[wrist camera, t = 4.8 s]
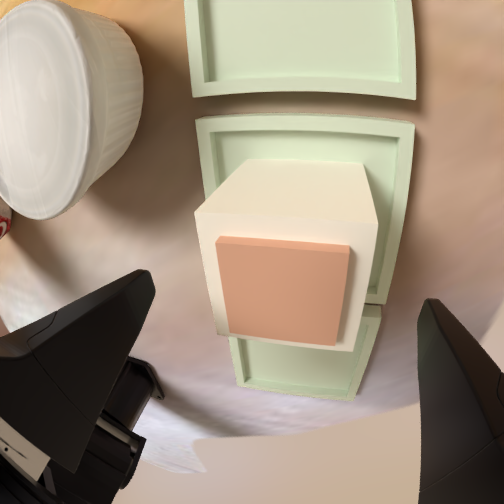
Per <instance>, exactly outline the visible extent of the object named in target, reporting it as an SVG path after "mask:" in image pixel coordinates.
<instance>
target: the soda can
mask: <svg viewBox="0 0 504 504" xmlns="http://www.w3.org/2000/svg"><path fill="white" fill-rule="evenodd" d="M11 216H12V208H11V207H10V206H9V205H8V204H7V203H6V202H5V201H4V200H3V199H2V197H1V196H0V239H1V238H2V237H3V236H4V235H5V234H6V233H7V232H8V231H9V230H10V227H11Z"/></svg>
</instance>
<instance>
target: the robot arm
mask: <svg viewBox="0 0 504 504" xmlns="http://www.w3.org/2000/svg"><path fill="white" fill-rule="evenodd" d="M155 292H156V291H155V286H154V283H153V280H152V276H151V273H150V272H149V271H148V270H142V269H138V270H136V271H133V272H131V273H129V274H127V275H125V276H123V277H121V278H119V279H117V280H115V281H113V282H111V283H109V284H107V285H105V286H103V287H101V288H99V289H97V290H95V291H94V292H92V293H90V294H88V295H86V296H84V297H82V298H80V299H78V300H76V301H74V302H72V303H70V304H68V305H66V306H64V307H63V308H61V309H59V310H58V311H55V312H53V313H51V314H49V315H47V316H45V317H43V318H41V319H39V320H37V321H35V322H33V323H31V324H29V325H27V326H25V327H22V328H20V329H18V330H16V331H14V332H11V333H9V334H7V335H5V336H2V337H0V504H111V503H112V501H113V499H114V497H115V495H116V493H117V492H118V490H119V489H124V488H125V487H126V486H127V485H128V483H129V482H130V480H131V479H132V476H133V475H134V472H135V470H136V467H137V464H138V461H139V459H140V456H141V453H142V450H143V448H144V445H145V442H146V438H144V437H142V436H139V435H137V434H136V433H134V432H132V430H133V428H134V426H135V424H136V423H137V421H138V419H139V417H140V415H141V413H142V412H143V410H144V408H145V406H146V404H147V402H148V400H149V399H150V397H154V398H157V399H160V400H163V399H164V397H165V396H164V394H163V392H162V390H161V389H160V387H159V385H158V383H157V381H156V379H155V377H154V376H153V374H152V372H151V370H150V368H149V366H148V365H147V364H146V363H145V362H142V361H139V360H136V359H133V358H130V357H128V355H129V353H130V351H131V349H132V347H133V345H134V343H135V341H136V339H137V337H138V335H139V333H140V331H141V329H142V326H143V324H144V321H145V319H146V316H147V314H148V311H149V309H150V306H151V304H152V302H153V299H154V297H155ZM417 336H418V380H419V393H420V409H421V473H420V489H419V491H420V492H419V500H418V504H504V373H503V372H501V370H500V368H499V367H498V366H497V365H496V363H495V362H494V361H493V360H492V359H491V358H490V356H489V355H488V354H487V353H486V351H485V350H484V349H483V348H482V347H481V345H480V344H479V343H478V342H477V341H476V340H475V338H474V337H473V336H472V335H471V334H470V333H469V332H468V331H467V329H466V328H465V327H464V326H463V325H462V324H461V323H460V322H459V321H458V319H457V318H456V317H455V316H454V315H453V314H452V313H451V312H450V311H449V310H448V309H447V308H446V307H445V305H444V304H443V303H442V302H441V301H440V300H439V299H432V298H427V299H426V300H425V301H424V304H423V307H422V309H421V312H420V315H419V318H418V322H417Z"/></svg>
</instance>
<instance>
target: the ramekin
mask: <svg viewBox="0 0 504 504" xmlns="http://www.w3.org/2000/svg"><path fill="white" fill-rule="evenodd" d="M143 91H144V89H143V73H142V67H141V64H140V58H139V55H138V53H137V51H136V48H135V46H134V44H133V43H132V41H131V38H130V37H129V36H128V35H127V34H126V32H125V31H124V29H123V28H121V27H120V26H119V25H118V24H117V23H116V22H114V21H111V20H110V19H109V18H107V17H104V16H101V15H98V14H95V13H92V12H88V11H84V10H81V9H77V8H72V7H71V6H69V5H67V4H66V3H63V2H61V1H57V0H31V1H27V2H24V3H22V4H20V5H18V6H17V7H15V8H13V9H12V10H11V11H9V12H8V13H7V14H6V15H5V16H4V17H3V18H2V19H1V20H0V196H1V197H2V199H3V200H4V201H5V202H6V203H7V204H8V205H9V206H10V207H11V208H13V209H14V210H15V211H16V212H18V213H19V214H21V215H23V216H25V217H28V218H31V219H35V220H48V219H52V218H54V217H57V216H59V215H61V214H62V213H64V212H66V211H67V210H68V209H70V208H71V207H73V206H74V205H75V204H76V203H77V202H78V201H79V200H80V199H81V198H82V197H83V195H84V194H85V193H86V191H87V190H88V188H89V186H91V185H92V184H93V183H94V182H95V181H96V180H97V179H98V178H100V177H101V176H102V175H103V174H104V173H105V172H106V171H108V170H109V169H110V168H111V167H112V166H113V165H114V164H115V163H116V162H117V161H118V160H119V159H120V158H121V157H122V156H123V154H124V153H125V151H126V150H127V149H128V147H129V146H130V143H131V141H132V140H133V138H134V135H135V132H136V130H137V128H138V124H139V120H140V117H141V110H142V104H143Z"/></svg>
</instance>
